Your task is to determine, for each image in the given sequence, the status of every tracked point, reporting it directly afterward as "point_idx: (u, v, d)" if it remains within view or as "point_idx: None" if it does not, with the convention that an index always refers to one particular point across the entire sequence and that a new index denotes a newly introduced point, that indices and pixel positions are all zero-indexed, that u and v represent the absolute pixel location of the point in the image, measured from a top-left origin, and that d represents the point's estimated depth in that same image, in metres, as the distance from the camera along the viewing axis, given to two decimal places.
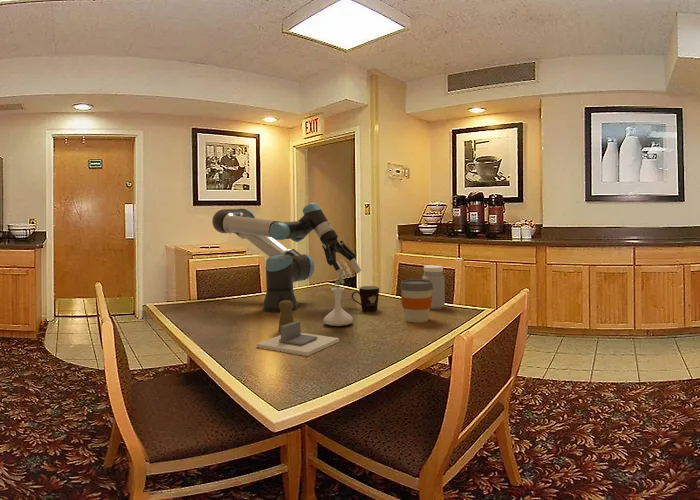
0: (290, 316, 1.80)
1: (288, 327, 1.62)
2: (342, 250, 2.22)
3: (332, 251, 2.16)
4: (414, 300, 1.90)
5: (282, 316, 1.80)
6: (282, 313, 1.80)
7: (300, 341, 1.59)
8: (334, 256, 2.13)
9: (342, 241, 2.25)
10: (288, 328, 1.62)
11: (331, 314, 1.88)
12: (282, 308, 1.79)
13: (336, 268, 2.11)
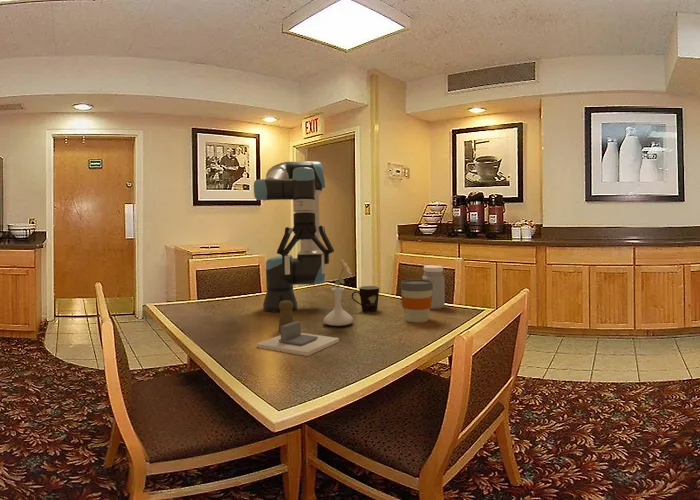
0: (290, 316, 1.80)
1: (288, 327, 1.62)
2: None
3: None
4: (414, 300, 1.90)
5: (282, 316, 1.80)
6: (282, 313, 1.80)
7: (300, 341, 1.59)
8: (286, 248, 1.74)
9: (320, 227, 1.71)
10: (288, 328, 1.62)
11: (331, 314, 1.88)
12: (282, 308, 1.79)
13: None
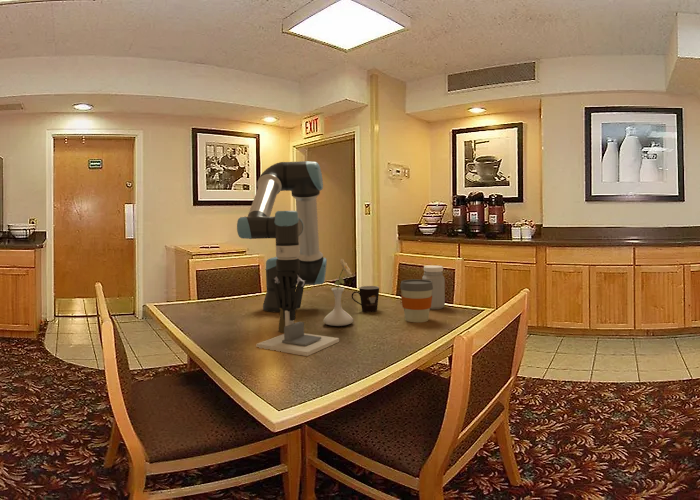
0: None
1: (292, 327, 1.61)
2: None
3: None
4: (414, 300, 1.90)
5: (282, 316, 1.80)
6: (282, 313, 1.80)
7: (304, 342, 1.59)
8: (282, 301, 1.64)
9: (300, 283, 1.59)
10: (291, 328, 1.61)
11: (331, 314, 1.88)
12: None
13: None
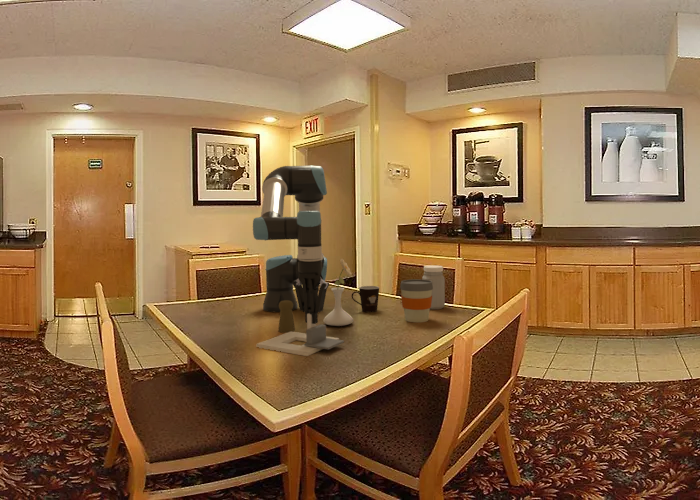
0: (290, 316, 1.80)
1: (314, 331, 1.57)
2: None
3: None
4: (414, 300, 1.90)
5: (282, 316, 1.80)
6: (282, 313, 1.80)
7: (327, 345, 1.54)
8: (304, 304, 1.59)
9: (323, 285, 1.55)
10: (314, 331, 1.57)
11: (331, 314, 1.88)
12: (282, 308, 1.79)
13: None
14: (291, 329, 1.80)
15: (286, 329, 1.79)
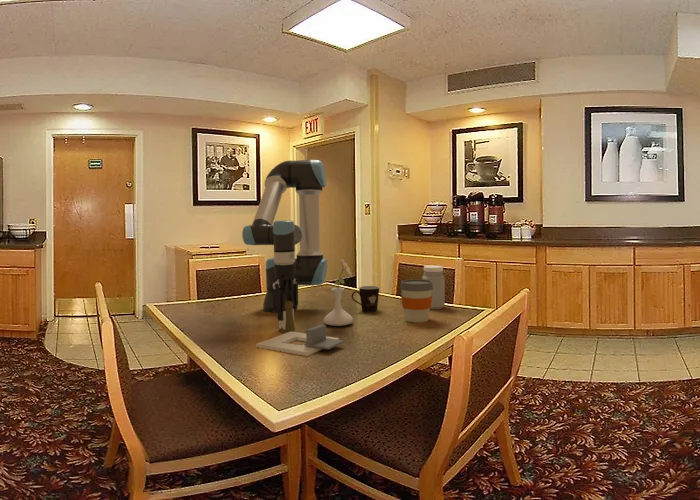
0: (290, 316, 1.80)
1: (314, 331, 1.57)
2: (289, 291, 1.82)
3: (281, 293, 1.79)
4: (414, 300, 1.90)
5: None
6: None
7: (327, 345, 1.54)
8: (283, 303, 1.78)
9: (298, 281, 1.85)
10: (314, 331, 1.57)
11: (331, 314, 1.88)
12: None
13: (279, 318, 1.79)
14: (291, 329, 1.80)
15: (286, 329, 1.79)
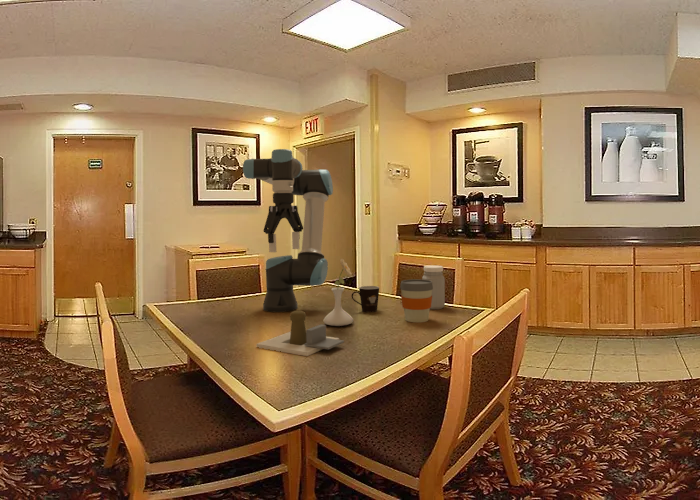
0: (303, 328, 1.62)
1: (314, 331, 1.57)
2: (290, 218, 1.86)
3: (277, 218, 1.80)
4: (414, 300, 1.90)
5: (294, 328, 1.61)
6: (294, 325, 1.61)
7: (327, 345, 1.54)
8: (275, 226, 1.78)
9: (296, 207, 1.88)
10: (314, 331, 1.57)
11: (331, 314, 1.88)
12: (294, 319, 1.61)
13: (269, 241, 1.77)
14: (304, 343, 1.62)
15: (298, 343, 1.61)
